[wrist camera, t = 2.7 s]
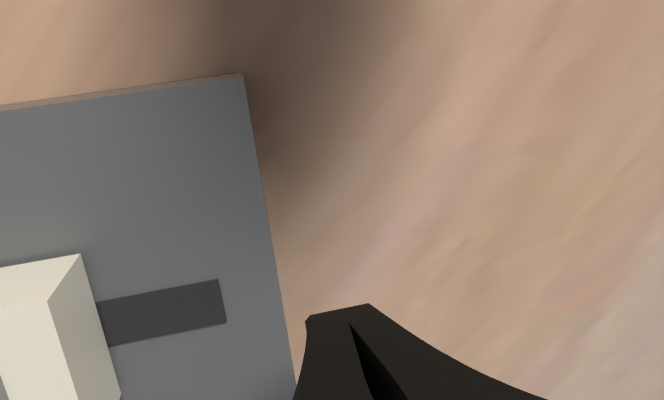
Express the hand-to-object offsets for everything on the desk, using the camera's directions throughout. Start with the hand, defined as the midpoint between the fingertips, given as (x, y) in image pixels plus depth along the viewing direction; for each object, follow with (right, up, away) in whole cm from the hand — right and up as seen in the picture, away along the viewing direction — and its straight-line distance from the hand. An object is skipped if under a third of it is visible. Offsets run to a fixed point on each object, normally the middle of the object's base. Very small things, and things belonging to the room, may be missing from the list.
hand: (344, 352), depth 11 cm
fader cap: (-8, 0, +2) cm, 8 cm away
